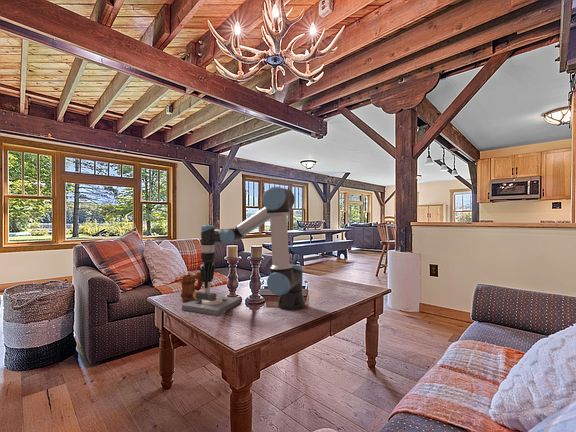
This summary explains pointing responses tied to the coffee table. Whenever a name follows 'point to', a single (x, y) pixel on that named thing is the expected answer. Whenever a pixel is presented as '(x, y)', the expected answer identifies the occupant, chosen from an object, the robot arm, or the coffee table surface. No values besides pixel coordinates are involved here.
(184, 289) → the mug
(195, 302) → the dial plate
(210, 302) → the dial
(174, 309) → the coffee table surface
